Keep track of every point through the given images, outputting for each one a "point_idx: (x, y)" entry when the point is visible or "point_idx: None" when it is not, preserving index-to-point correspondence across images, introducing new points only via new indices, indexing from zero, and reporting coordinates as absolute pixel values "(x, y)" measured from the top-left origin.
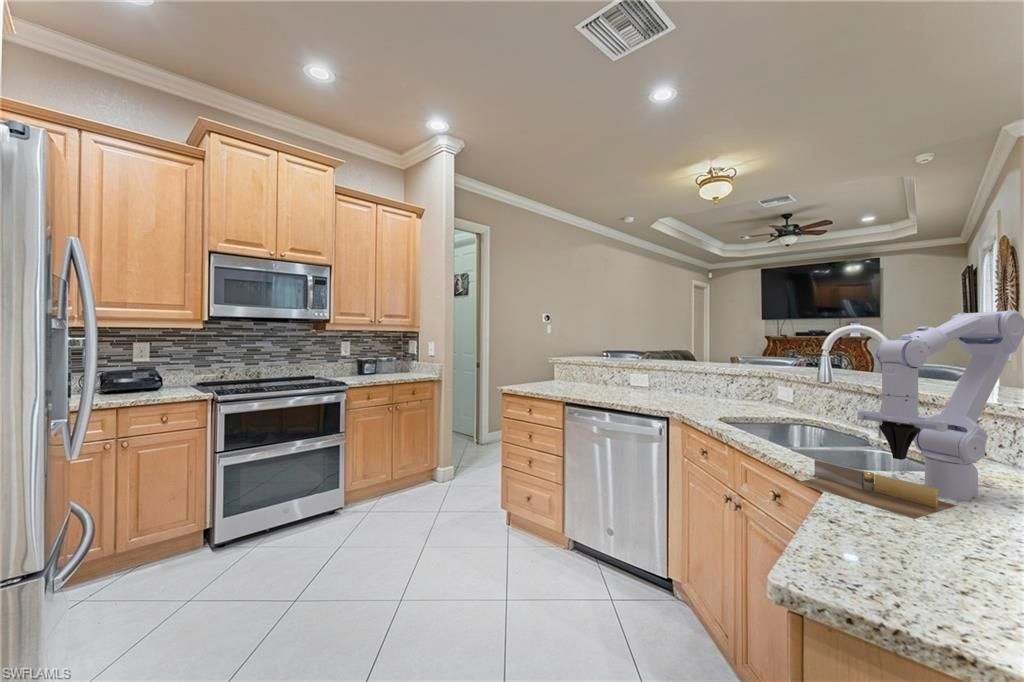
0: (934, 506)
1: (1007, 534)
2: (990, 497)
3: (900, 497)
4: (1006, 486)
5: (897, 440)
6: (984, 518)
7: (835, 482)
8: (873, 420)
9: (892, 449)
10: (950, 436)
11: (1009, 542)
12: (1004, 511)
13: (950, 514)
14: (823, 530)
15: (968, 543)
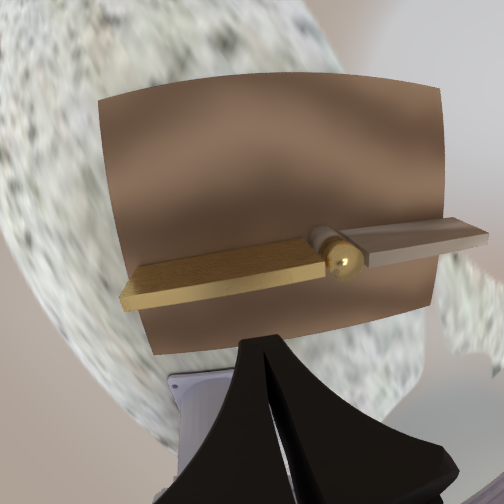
0: (138, 267)
1: (37, 283)
2: None
3: (227, 252)
4: None
5: (261, 426)
6: (112, 348)
7: (405, 215)
8: (494, 484)
9: (289, 364)
10: None
11: (8, 232)
12: (147, 418)
13: None
14: None
15: (16, 127)
